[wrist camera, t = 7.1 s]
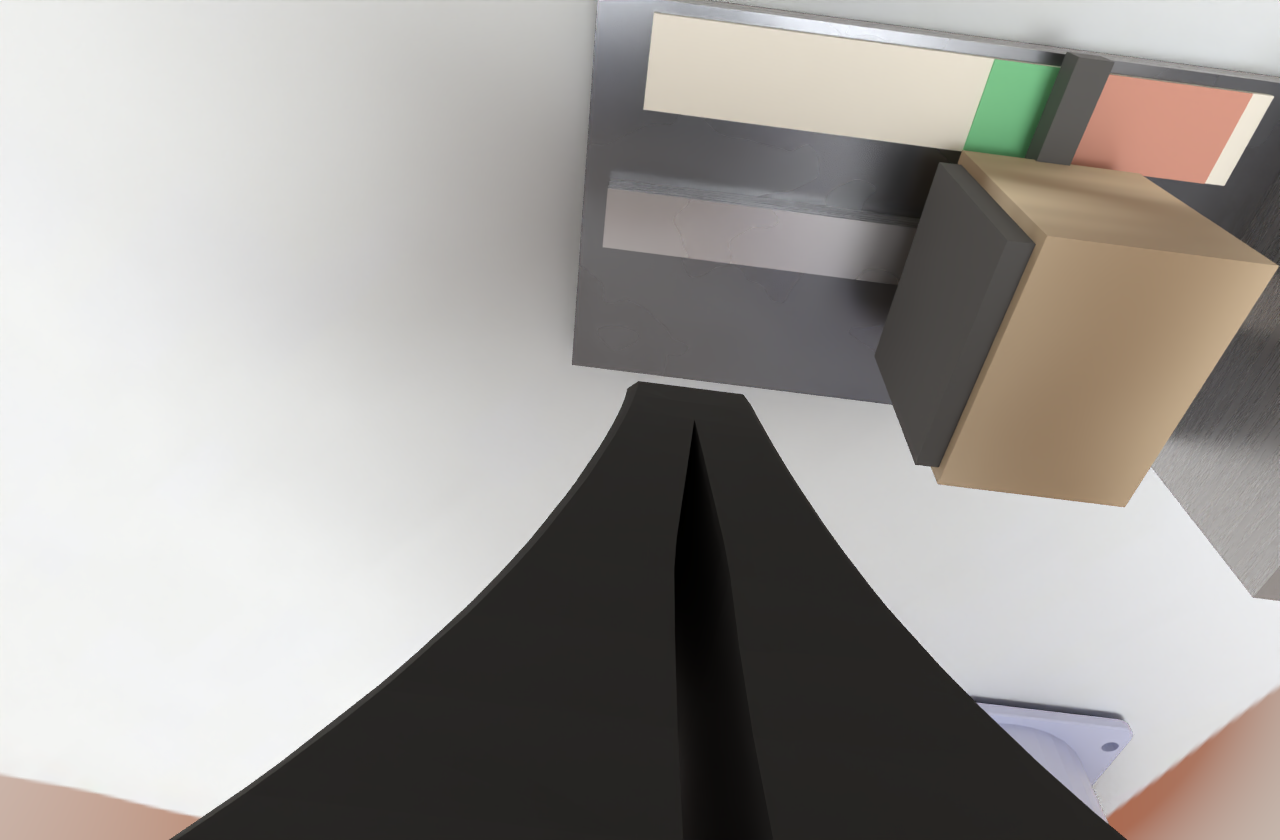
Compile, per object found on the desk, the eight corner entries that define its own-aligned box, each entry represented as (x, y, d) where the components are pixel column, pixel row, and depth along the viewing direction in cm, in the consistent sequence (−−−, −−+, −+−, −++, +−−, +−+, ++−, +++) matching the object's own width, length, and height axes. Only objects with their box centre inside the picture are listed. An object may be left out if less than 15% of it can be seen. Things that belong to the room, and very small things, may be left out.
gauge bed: (575, 347, 18) (535, 510, 14) (602, -14, 14) (556, 41, 9) (1191, 424, 19) (1360, 610, 14) (1406, 94, 14) (1762, 201, 10)
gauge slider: (866, 350, 16) (914, 480, 13) (968, 37, 13) (1073, 99, 9) (1031, 370, 17) (1124, 507, 13) (1176, 65, 13) (1361, 138, 9)
